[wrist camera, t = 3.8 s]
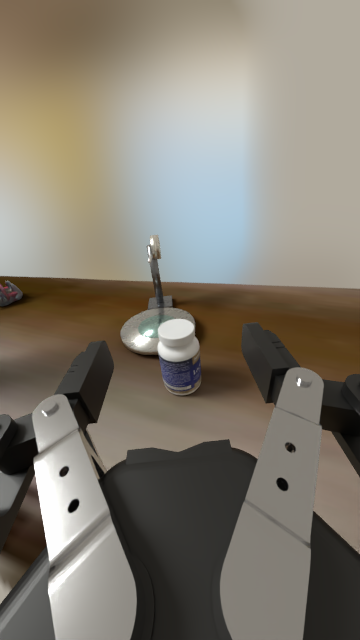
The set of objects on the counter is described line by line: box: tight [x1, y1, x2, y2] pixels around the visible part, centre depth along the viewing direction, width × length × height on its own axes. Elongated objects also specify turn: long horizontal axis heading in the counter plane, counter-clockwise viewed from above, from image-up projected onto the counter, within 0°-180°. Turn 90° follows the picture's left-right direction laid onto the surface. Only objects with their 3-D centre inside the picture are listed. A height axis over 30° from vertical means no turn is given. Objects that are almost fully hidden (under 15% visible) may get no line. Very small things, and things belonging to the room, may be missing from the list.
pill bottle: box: [158, 319, 201, 395], centre depth 28 cm, size 6×6×10 cm
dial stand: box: [147, 235, 173, 310], centre depth 46 cm, size 6×10×17 cm, turn 3°
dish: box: [121, 307, 195, 355], centre depth 41 cm, size 15×15×2 cm
